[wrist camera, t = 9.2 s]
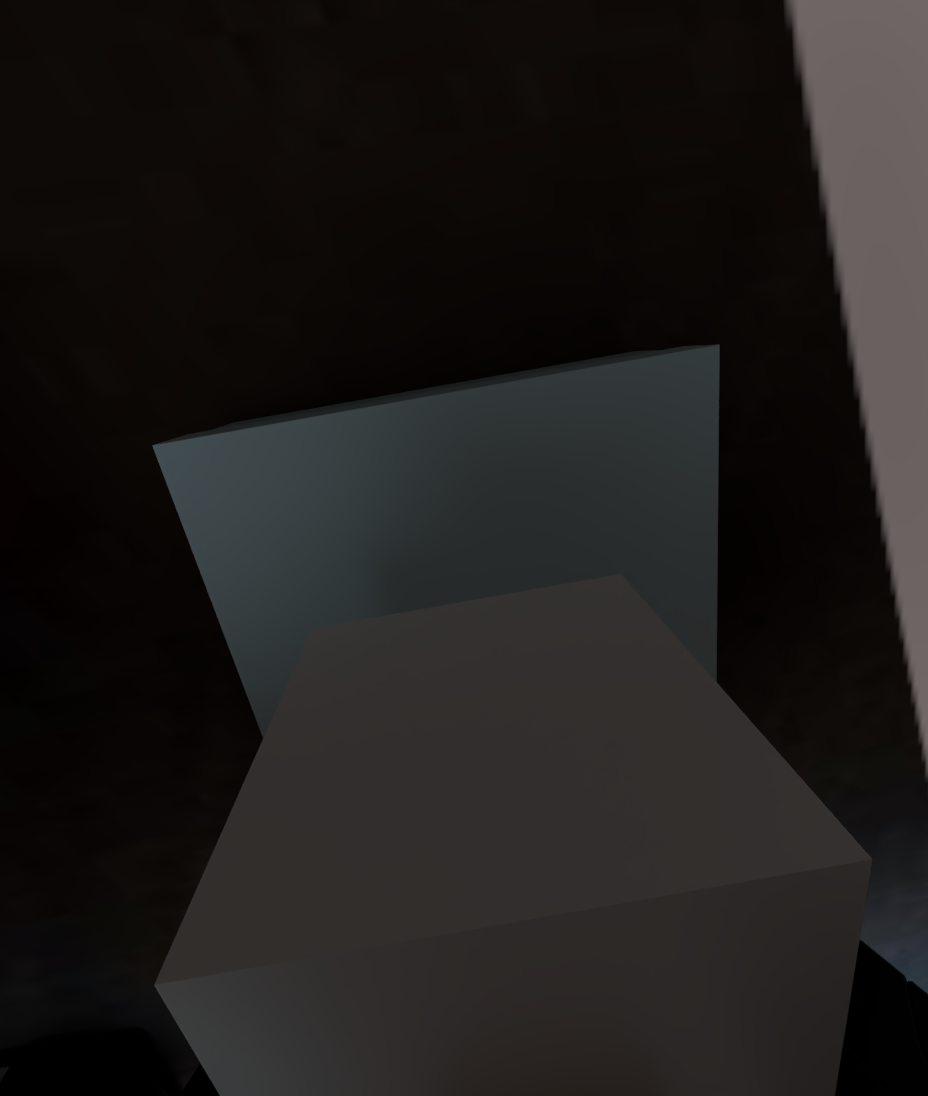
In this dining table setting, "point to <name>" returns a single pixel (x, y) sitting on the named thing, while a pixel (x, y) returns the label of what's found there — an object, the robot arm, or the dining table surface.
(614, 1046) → the grey housing
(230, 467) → the teal stand
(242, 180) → the dining table surface
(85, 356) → the dining table surface
